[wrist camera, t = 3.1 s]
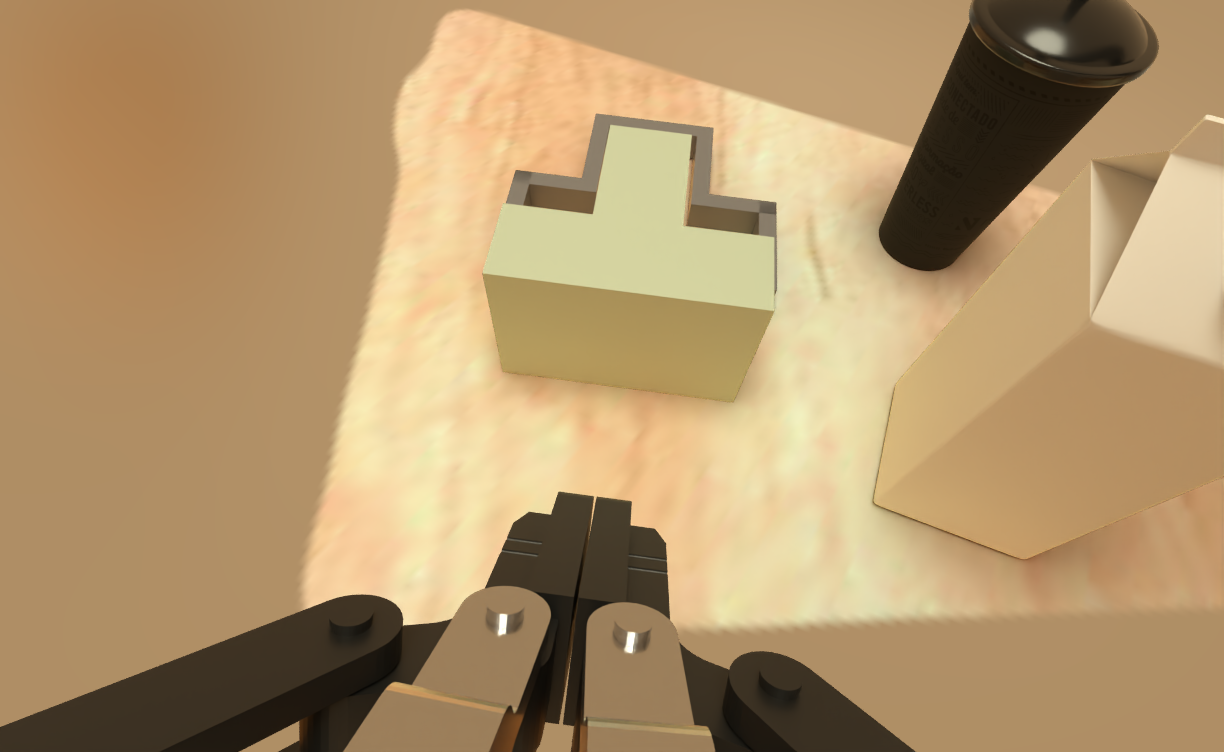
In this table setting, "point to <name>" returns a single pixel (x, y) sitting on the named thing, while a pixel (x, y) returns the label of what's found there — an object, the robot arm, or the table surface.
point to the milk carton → (1077, 364)
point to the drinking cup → (1008, 115)
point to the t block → (630, 282)
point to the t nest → (702, 205)
